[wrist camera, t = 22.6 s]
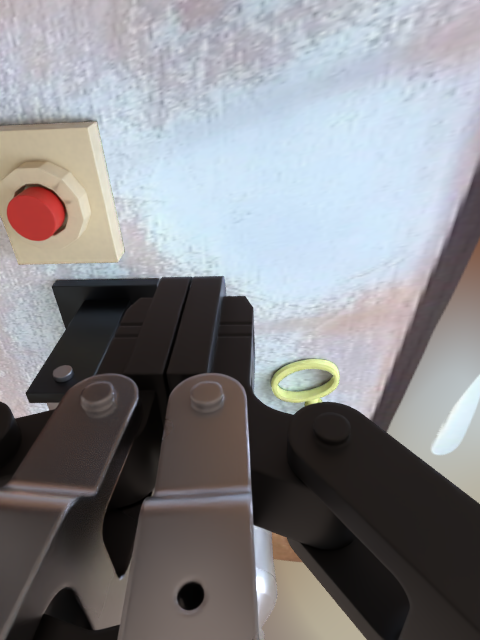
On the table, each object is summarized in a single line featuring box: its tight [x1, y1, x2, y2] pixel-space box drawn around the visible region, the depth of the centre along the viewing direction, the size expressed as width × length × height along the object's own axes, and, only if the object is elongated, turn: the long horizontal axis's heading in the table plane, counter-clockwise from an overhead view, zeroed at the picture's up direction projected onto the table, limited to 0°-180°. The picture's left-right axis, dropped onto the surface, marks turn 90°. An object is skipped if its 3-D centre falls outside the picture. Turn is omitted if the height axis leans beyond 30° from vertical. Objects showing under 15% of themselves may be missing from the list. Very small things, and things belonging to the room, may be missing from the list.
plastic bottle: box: [253, 525, 277, 640], centre depth 49 cm, size 6×7×20 cm
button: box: [7, 187, 65, 241], centre depth 34 cm, size 4×4×2 cm
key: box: [271, 359, 340, 406], centre depth 48 cm, size 7×12×2 cm, turn 39°
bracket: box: [26, 279, 160, 403], centre depth 39 cm, size 10×8×14 cm
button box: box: [0, 121, 125, 265], centre depth 36 cm, size 11×9×4 cm
